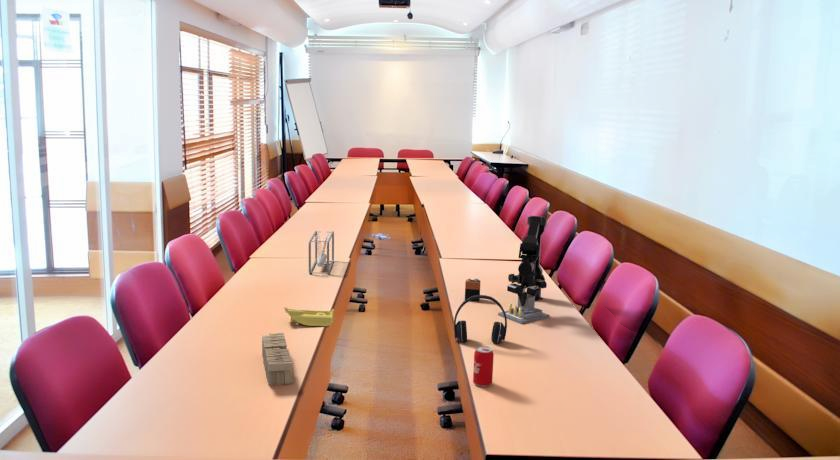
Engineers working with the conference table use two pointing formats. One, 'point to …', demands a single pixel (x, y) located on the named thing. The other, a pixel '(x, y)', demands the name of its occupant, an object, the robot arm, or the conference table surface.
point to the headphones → (498, 327)
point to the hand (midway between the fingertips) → (526, 305)
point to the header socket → (523, 314)
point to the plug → (528, 303)
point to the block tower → (276, 359)
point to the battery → (472, 288)
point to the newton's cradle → (322, 256)
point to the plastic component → (311, 317)
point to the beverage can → (483, 366)
